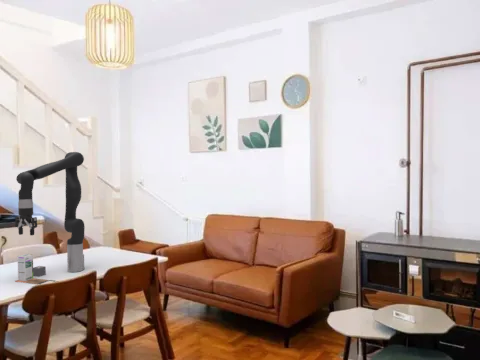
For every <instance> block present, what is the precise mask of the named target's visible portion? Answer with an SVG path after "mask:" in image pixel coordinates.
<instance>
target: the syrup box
mask: <svg viewBox="0 0 480 360" xmlns="http://www.w3.org/2000/svg"><path fill="white" fill-rule="evenodd" d="M16 259H17V280H19V281H28V280H31V279H34V278H35V276H33V268H34V255H33V254H30V253H25V254H21V255H18V256H17V258H16Z"/></svg>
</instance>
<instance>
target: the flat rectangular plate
mask: <svg viewBox="0 0 480 360" xmlns="http://www.w3.org/2000/svg"><path fill="white" fill-rule="evenodd" d="M14 282H16V283H22V282H23V283H25V284H32V285H38V284H44V283H47V282H55V280H53V279H43V278H36V277H34V279H31V280H28V281H19V280H18V279H17V280H14Z"/></svg>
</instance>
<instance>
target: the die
mask: <svg viewBox="0 0 480 360" xmlns="http://www.w3.org/2000/svg"><path fill="white" fill-rule="evenodd" d="M46 271H47V270H46V266H43V265H37V266H33V276H34V277H38V278H39V277H42V276H46V275H47V273H46Z"/></svg>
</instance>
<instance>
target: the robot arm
mask: <svg viewBox="0 0 480 360" xmlns="http://www.w3.org/2000/svg"><path fill="white" fill-rule="evenodd" d="M84 161H85V157H84V155H83V154H82V153H81V152H78V151H71V152H67V153H66V154H65V156H64V158H62V159H59V160H57V161H56V160H55V161H53V162H52V161H51V162H49V163H46V164H42V165H40V166H37V167H35V168H33V169H29V170H26V171H22V172H20V173H18V174H17V176H16V182H17V183H18V184H19V185H20V189H19V190H18V202H17V203H18V204H17V205H18V207H17V208H18V216H16V217H15V223H14V226H15V228H18V235H23V234H24V226H25V225H26V226H27V227H29V235H30V236H34V235H35V229H36V228H38V218H37V216H36V217H33V215H34V201H33V189H34V184H35V182H34V181H36V180H41V179H44V178H47V177H50V176H51V175H54V174H56V173H58V172H61V171H65V214H64V221H63V222H64V223H63V224H64V230H65V232H67V233H69V234H70V233H71V237H70V238H68V239H67V241H66V246H67V247H66V248H67V249H66V250H67V257H66V258H67V272H68V273H78V272H82V271H84V270H85V254H84V239H85V228H86V227H85V221H83V219H81V218H77V209H78V206H79V205H80V201H81V199H82V185H81V182H80V179H79V176H78V167H79V166H82V164H83V163H84Z"/></svg>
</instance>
